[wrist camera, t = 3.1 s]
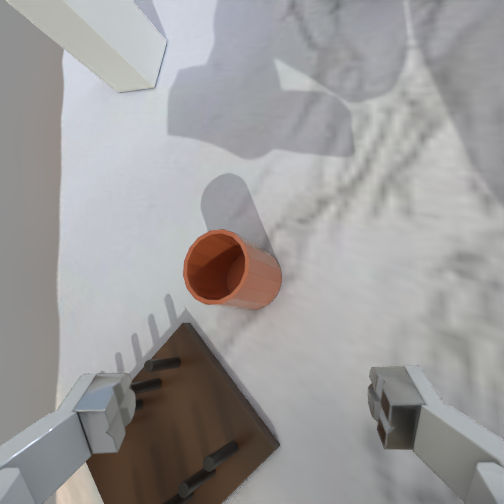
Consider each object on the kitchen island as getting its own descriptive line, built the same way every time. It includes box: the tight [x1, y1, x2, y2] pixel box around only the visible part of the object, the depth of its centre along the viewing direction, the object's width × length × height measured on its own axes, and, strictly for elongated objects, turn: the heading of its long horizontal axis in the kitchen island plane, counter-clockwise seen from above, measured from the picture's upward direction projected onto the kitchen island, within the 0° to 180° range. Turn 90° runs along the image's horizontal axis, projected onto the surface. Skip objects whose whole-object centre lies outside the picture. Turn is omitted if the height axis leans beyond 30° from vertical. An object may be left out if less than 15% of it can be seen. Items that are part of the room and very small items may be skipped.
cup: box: [183, 229, 282, 310], centre depth 29 cm, size 6×6×7 cm
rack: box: [86, 323, 280, 504], centre depth 30 cm, size 18×14×5 cm
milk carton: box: [5, 0, 167, 92], centre depth 38 cm, size 7×7×19 cm
